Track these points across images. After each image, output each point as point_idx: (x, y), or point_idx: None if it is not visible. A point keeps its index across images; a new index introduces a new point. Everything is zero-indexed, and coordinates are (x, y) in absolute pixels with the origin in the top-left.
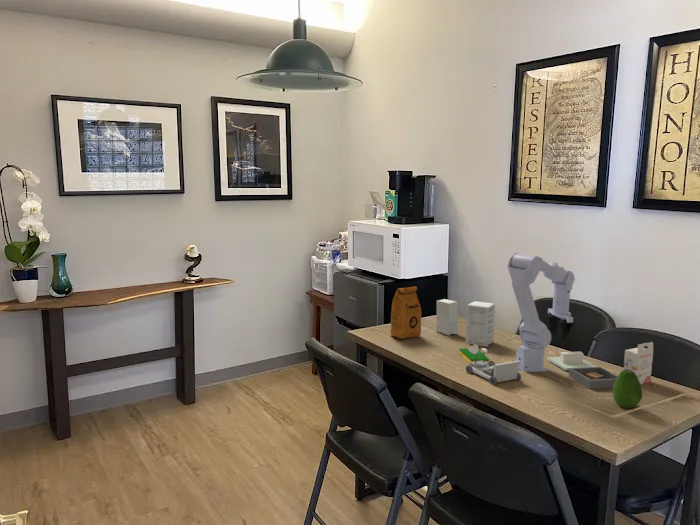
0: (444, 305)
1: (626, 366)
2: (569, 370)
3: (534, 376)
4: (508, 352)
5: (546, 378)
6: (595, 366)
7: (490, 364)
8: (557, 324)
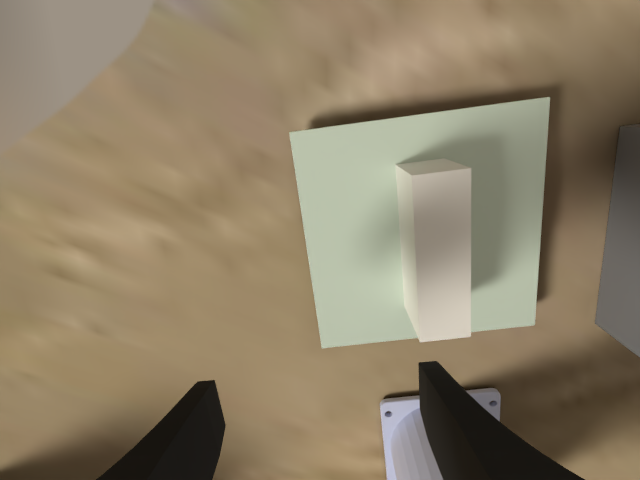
0: None
1: None
2: (635, 349)
3: None
4: None
5: (576, 422)
6: (541, 102)
7: None
8: (162, 469)
